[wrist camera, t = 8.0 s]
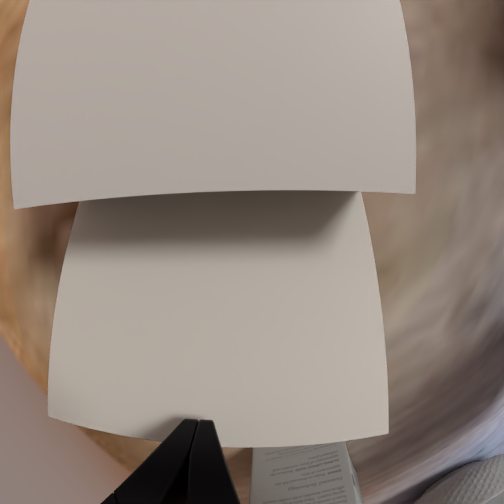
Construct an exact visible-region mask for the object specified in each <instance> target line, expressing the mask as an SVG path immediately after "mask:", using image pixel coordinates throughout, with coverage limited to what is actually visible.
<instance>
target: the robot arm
mask: <svg viewBox="0 0 504 504" xmlns="http://www.w3.org/2000/svg"><path fill="white" fill-rule="evenodd" d="M101 504H240V501H239V498H238V495H237V493H236V490H235V487H234V484H233V481H232V478H231V475H230V472H229V469H228V466H227V463H226V460H225V457H224V454H223V451H222V447H221V444H220V441H219V438H218V434H217V431H216V428H215V424H214V421H213V420H205V419H200V420H198V419H190V418H185V419H183V420H182V421H181V423H180V424H179V425H178V426H177V427H176V428H175V429H174V430H173V431H172V432H171V433H170V434H169V436H168V437H167V438H166V439H165V440H164V441H163V442H162V443H161V444H160V445H159V446H158V447H157V448H156V449H155V450H154V451H153V452H152V453H151V455H150V456H149V457H148V458H147V459H146V460H145V461H144V462H143V463H142V464H141V465H140V466H139V467H138V468H137V469H136V470H135V471H134V472H133V473H132V474H131V475H130V476H129V477H128V478H127V479H126V480H125V481H124V482H123V483H122V484H121V485H120V486H119V487H118V488H117V489H116V490H115V491H114V493H112V494H110V495H109V496H108V497H107V498H106V499H105V500H104V501H103V502H102V503H101Z"/></svg>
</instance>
